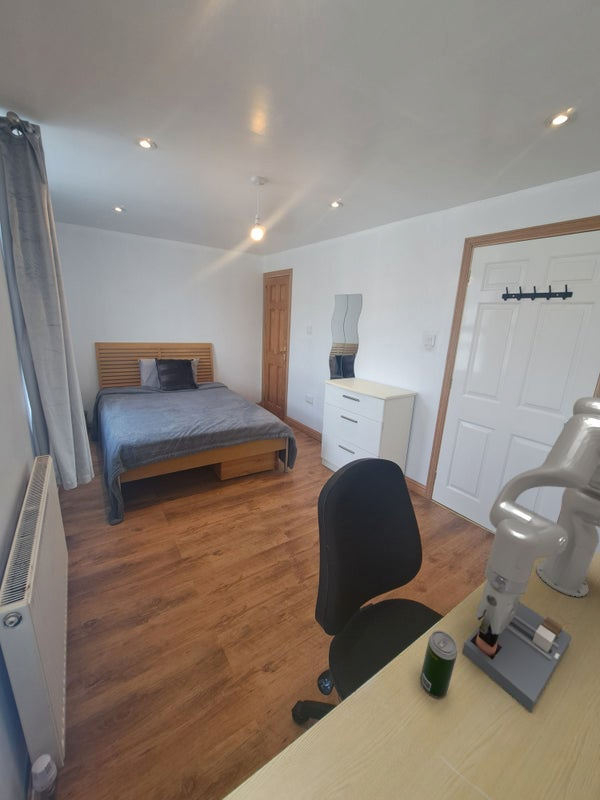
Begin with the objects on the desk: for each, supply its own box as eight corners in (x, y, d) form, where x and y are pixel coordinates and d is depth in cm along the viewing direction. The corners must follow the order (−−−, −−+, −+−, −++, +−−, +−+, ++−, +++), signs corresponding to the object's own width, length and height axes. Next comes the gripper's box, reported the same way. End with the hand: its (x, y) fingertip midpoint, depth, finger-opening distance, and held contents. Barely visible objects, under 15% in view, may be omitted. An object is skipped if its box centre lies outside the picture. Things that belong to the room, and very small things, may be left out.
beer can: (436, 705, 64) (448, 661, 61) (414, 679, 68) (423, 637, 65) (452, 689, 67) (463, 646, 64) (429, 666, 71) (439, 624, 68)
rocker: (546, 619, 80) (547, 616, 80) (561, 629, 78) (563, 626, 78) (540, 626, 77) (541, 623, 77) (556, 637, 75) (557, 633, 75)
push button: (479, 639, 77) (482, 628, 76) (496, 653, 74) (500, 642, 73) (471, 648, 75) (474, 637, 74) (489, 663, 72) (492, 652, 71)
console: (506, 603, 89) (509, 592, 88) (568, 645, 78) (572, 634, 77) (462, 652, 75) (465, 640, 74) (530, 712, 64) (535, 699, 63)
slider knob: (536, 635, 76) (540, 624, 75) (551, 645, 74) (555, 635, 73) (532, 642, 75) (535, 631, 74) (547, 653, 72) (551, 642, 71)
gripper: (510, 605, 61) (488, 675, 66) (539, 572, 70) (518, 636, 75) (471, 578, 67) (454, 644, 72) (502, 551, 76) (485, 612, 81)
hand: (486, 640), depth 73 cm, fingers closed
